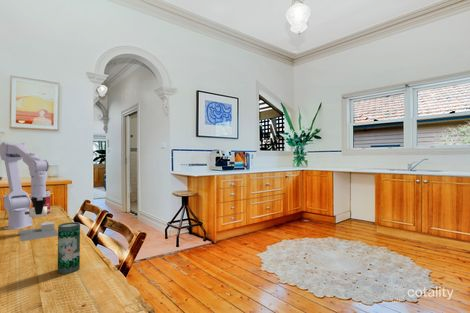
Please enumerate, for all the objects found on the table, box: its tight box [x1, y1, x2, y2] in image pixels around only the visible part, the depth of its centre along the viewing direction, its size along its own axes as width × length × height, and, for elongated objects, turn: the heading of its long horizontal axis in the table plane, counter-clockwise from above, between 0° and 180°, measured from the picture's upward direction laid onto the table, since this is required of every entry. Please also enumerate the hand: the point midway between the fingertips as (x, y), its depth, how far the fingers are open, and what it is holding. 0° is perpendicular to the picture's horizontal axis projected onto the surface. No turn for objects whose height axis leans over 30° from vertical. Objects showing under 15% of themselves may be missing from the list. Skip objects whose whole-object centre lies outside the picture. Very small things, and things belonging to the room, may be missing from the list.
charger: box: [40, 221, 55, 231], centre depth 134 cm, size 5×5×3 cm
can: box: [57, 221, 81, 275], centre depth 89 cm, size 6×6×15 cm
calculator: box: [31, 189, 51, 215], centre depth 167 cm, size 11×4×15 cm, turn 179°
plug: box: [25, 206, 53, 218], centre depth 129 cm, size 10×4×4 cm, turn 131°
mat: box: [18, 227, 58, 242], centre depth 127 cm, size 20×14×1 cm
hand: (38, 213), depth 129 cm, fingers closed on plug, 4 cm apart
